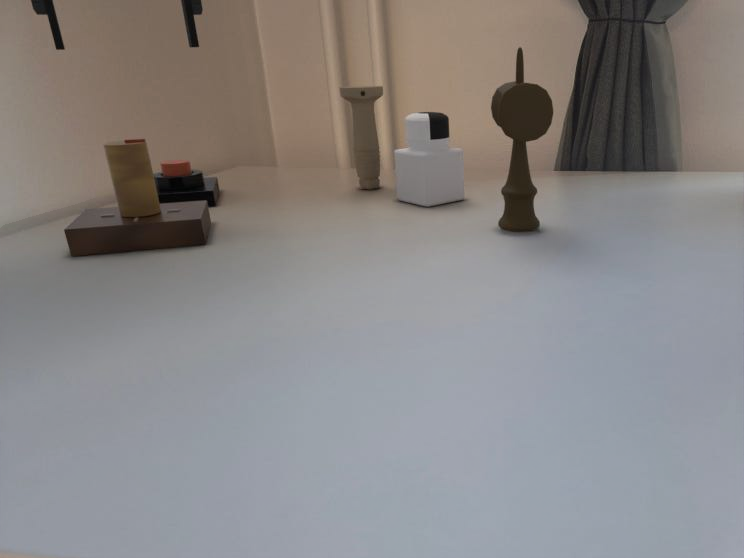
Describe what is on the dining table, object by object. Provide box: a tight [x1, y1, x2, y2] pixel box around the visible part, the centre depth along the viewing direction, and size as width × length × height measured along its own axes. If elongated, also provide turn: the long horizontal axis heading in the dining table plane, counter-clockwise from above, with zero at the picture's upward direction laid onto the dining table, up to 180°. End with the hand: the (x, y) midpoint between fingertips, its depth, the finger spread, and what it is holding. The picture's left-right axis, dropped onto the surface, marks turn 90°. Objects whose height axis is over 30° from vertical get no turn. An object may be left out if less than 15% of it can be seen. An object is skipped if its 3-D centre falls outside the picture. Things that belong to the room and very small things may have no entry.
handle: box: [339, 85, 384, 191], centre depth 105 cm, size 5×6×15 cm
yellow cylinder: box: [103, 138, 161, 217], centre depth 78 cm, size 4×4×8 cm
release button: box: [159, 159, 192, 176], centre depth 100 cm, size 4×4×2 cm
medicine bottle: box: [393, 111, 465, 208], centre depth 96 cm, size 7×7×12 cm
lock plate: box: [63, 200, 212, 257], centre depth 80 cm, size 14×11×3 cm
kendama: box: [490, 46, 554, 233], centre depth 77 cm, size 6×10×20 cm, turn 6°
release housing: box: [153, 169, 221, 207], centre depth 101 cm, size 10×12×4 cm
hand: (130, 48), depth 76 cm, fingers open, 13 cm apart
